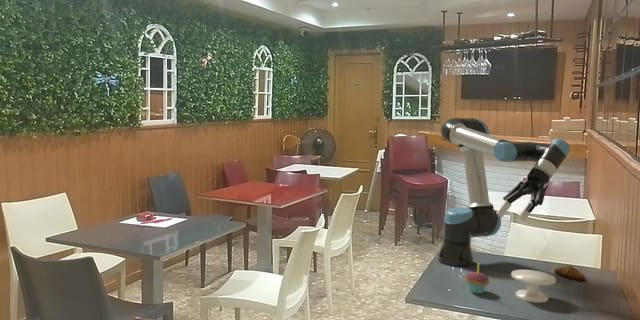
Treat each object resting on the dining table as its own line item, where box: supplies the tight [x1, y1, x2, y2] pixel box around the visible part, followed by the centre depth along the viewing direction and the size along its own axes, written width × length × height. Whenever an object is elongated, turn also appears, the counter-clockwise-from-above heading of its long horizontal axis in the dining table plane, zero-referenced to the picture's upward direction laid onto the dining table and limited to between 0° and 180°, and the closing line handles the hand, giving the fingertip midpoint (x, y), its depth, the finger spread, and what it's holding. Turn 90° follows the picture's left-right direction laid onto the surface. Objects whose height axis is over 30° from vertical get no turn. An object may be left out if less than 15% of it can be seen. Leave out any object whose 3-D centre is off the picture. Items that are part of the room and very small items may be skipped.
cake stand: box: [511, 269, 557, 304], centre depth 197 cm, size 15×15×8 cm
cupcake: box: [464, 262, 490, 295], centre depth 201 cm, size 9×8×12 cm
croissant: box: [554, 265, 587, 282], centre depth 224 cm, size 14×7×5 cm, turn 33°
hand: (510, 216), depth 203 cm, fingers open, 13 cm apart
